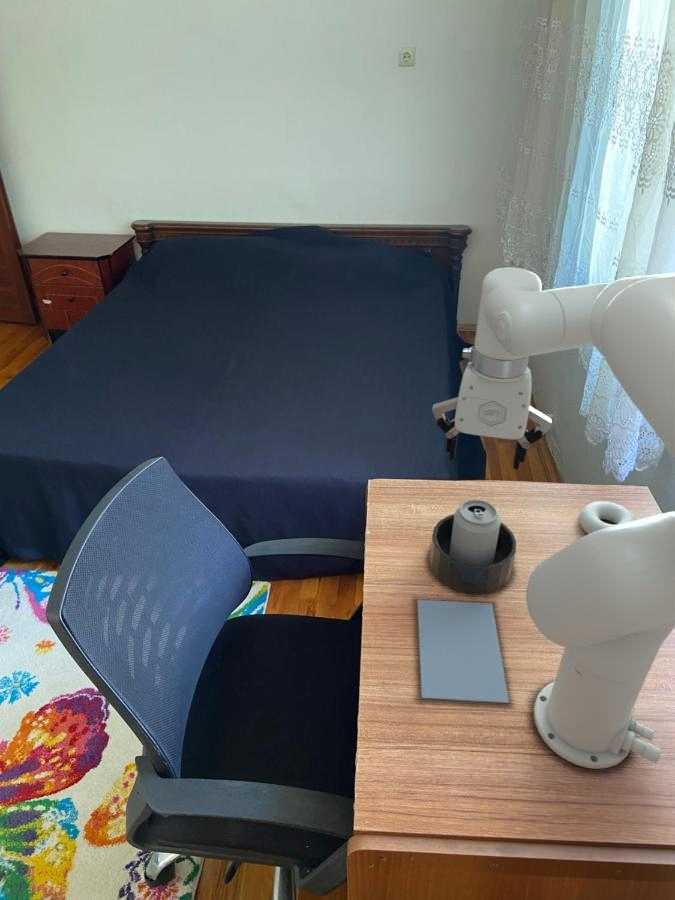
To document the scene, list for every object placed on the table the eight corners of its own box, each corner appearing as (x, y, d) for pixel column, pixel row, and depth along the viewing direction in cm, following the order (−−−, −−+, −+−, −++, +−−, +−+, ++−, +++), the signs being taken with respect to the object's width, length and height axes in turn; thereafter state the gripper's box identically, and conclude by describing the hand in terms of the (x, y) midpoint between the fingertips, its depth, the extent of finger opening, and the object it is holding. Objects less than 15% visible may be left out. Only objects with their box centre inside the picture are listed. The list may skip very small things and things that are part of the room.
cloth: (417, 600, 104) (417, 599, 104) (491, 604, 104) (492, 603, 103) (421, 698, 90) (421, 697, 89) (508, 703, 89) (509, 702, 89)
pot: (522, 556, 113) (528, 531, 109) (491, 607, 103) (496, 580, 100) (451, 527, 119) (454, 502, 116) (415, 572, 110) (418, 546, 106)
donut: (641, 549, 114) (626, 512, 122) (646, 535, 112) (631, 498, 120) (583, 546, 115) (572, 509, 123) (588, 531, 113) (576, 495, 121)
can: (487, 547, 114) (496, 494, 107) (496, 578, 108) (507, 524, 101) (445, 548, 114) (451, 495, 107) (452, 579, 108) (460, 525, 101)
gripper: (434, 365, 88) (424, 465, 98) (565, 380, 84) (542, 482, 94) (440, 342, 94) (430, 439, 104) (563, 355, 90) (541, 453, 100)
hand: (483, 459), depth 99 cm, fingers open, 9 cm apart
